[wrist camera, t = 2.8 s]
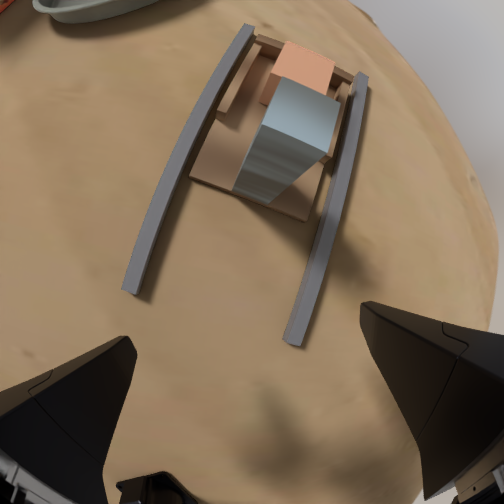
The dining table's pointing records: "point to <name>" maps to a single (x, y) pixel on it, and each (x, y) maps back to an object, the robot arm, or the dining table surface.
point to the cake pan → (87, 9)
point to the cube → (299, 70)
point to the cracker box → (4, 4)
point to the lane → (330, 210)
